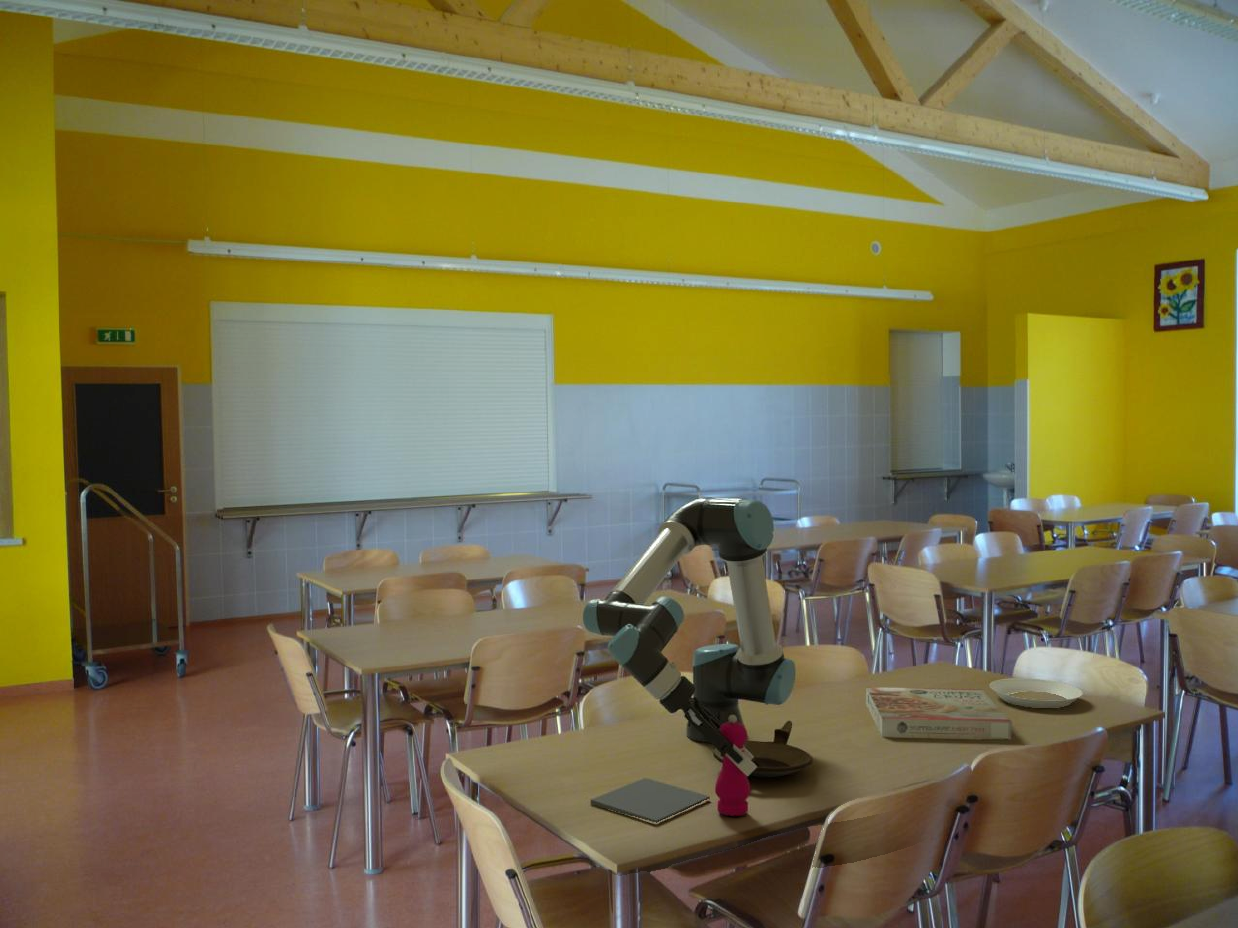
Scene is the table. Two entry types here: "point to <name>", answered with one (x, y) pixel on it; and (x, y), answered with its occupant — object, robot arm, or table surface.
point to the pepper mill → (733, 774)
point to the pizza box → (936, 713)
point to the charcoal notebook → (649, 800)
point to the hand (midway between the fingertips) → (750, 765)
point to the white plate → (1037, 685)
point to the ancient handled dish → (775, 755)
